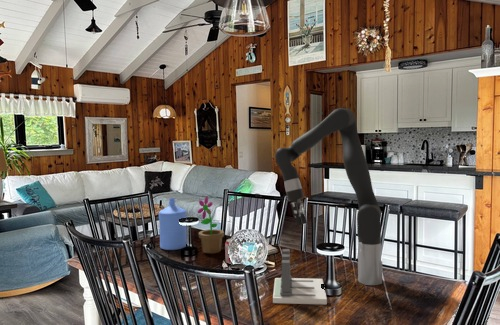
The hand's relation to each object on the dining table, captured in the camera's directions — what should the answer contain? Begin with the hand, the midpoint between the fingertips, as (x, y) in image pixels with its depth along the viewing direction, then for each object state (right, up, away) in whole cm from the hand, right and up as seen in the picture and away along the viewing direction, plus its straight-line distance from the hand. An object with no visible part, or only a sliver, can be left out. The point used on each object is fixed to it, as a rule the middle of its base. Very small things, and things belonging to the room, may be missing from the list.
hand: (302, 224), depth 171 cm
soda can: (-32, -22, +16) cm, 42 cm away
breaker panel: (-4, -24, -20) cm, 32 cm away
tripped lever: (-8, -21, -13) cm, 26 cm away
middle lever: (-9, -21, -20) cm, 31 cm away
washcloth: (-18, -21, +36) cm, 46 cm away
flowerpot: (-45, -21, +38) cm, 63 cm away
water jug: (-68, -21, +48) cm, 86 cm away
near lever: (-10, -22, -27) cm, 36 cm away
